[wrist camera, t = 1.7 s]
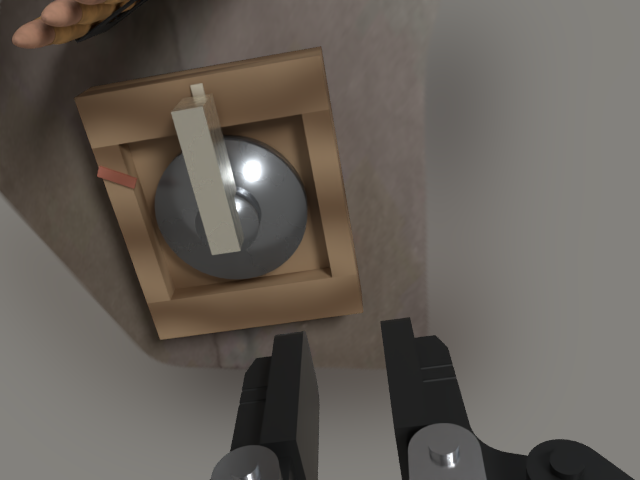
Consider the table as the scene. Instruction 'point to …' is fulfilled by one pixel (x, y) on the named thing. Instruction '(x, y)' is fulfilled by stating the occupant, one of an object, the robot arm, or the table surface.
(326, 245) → the wooden tray
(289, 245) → the dial
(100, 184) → the table surface
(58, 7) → the ammunition clip
